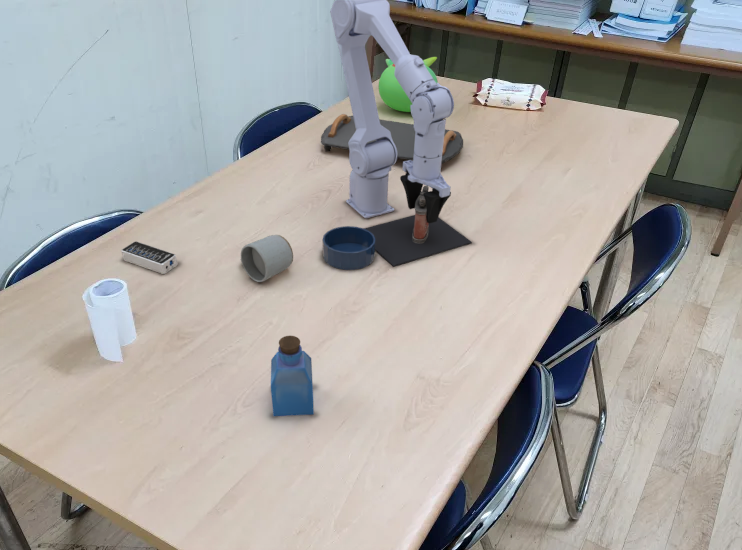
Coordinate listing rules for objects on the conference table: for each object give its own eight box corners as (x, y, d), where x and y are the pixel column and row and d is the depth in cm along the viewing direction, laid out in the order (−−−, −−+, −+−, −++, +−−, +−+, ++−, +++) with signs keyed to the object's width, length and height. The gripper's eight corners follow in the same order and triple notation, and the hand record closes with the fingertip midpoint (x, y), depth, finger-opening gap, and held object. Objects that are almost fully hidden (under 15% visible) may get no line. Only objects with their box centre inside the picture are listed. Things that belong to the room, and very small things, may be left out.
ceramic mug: (297, 271, 129) (295, 237, 124) (267, 288, 125) (264, 253, 120) (261, 253, 135) (257, 220, 129) (231, 269, 130) (226, 235, 125)
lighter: (425, 244, 138) (430, 201, 131) (410, 242, 138) (413, 199, 131) (430, 226, 143) (434, 184, 137) (415, 224, 144) (419, 182, 137)
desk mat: (354, 232, 142) (354, 230, 141) (429, 212, 149) (429, 210, 149) (393, 266, 131) (393, 265, 131) (471, 243, 139) (471, 241, 139)
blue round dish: (314, 250, 136) (313, 233, 133) (358, 238, 140) (358, 221, 137) (338, 275, 129) (338, 257, 126) (384, 261, 133) (385, 244, 130)
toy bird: (374, 116, 194) (376, 65, 184) (381, 98, 206) (383, 48, 197) (433, 121, 192) (438, 69, 182) (437, 102, 204) (442, 52, 195)
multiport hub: (137, 250, 134) (135, 240, 133) (178, 264, 131) (176, 254, 129) (122, 260, 132) (120, 250, 130) (164, 274, 128) (161, 264, 126)
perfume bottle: (274, 388, 103) (268, 330, 95) (312, 387, 104) (310, 328, 96) (273, 416, 99) (267, 356, 91) (313, 414, 99) (311, 355, 91)
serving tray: (469, 143, 180) (472, 120, 176) (449, 176, 164) (451, 152, 160) (341, 123, 190) (341, 101, 186) (310, 152, 174) (309, 129, 170)
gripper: (391, 143, 132) (388, 204, 141) (432, 170, 122) (426, 233, 131) (420, 137, 134) (415, 197, 143) (462, 163, 125) (453, 225, 134)
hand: (422, 214), depth 138 cm, fingers closed on lighter, 6 cm apart
